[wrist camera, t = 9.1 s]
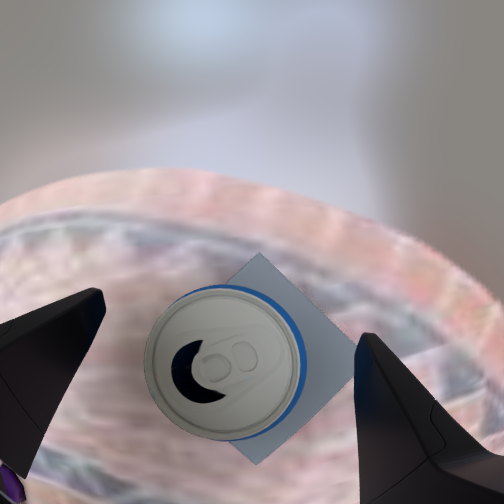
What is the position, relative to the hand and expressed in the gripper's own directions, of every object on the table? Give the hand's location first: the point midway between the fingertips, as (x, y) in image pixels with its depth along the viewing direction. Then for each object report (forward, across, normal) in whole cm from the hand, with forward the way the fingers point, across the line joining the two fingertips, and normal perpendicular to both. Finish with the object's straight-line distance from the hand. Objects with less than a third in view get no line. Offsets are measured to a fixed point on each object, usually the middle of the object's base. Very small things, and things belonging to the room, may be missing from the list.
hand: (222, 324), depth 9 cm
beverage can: (+8, 0, +10) cm, 13 cm away
